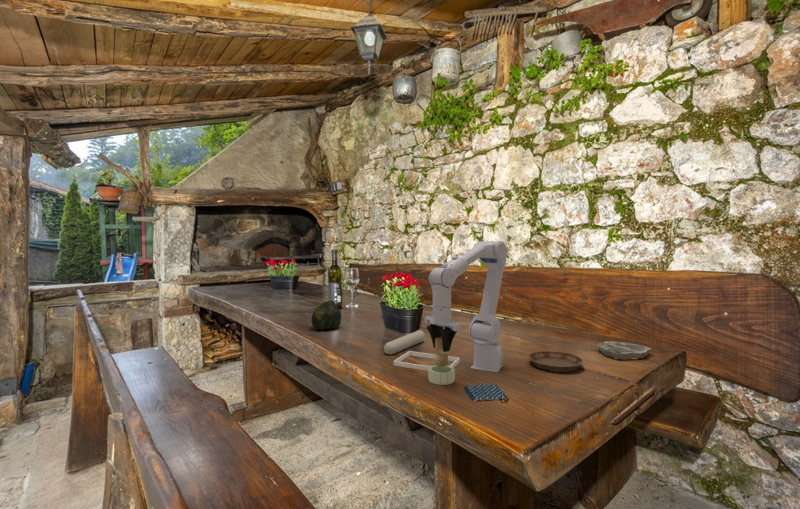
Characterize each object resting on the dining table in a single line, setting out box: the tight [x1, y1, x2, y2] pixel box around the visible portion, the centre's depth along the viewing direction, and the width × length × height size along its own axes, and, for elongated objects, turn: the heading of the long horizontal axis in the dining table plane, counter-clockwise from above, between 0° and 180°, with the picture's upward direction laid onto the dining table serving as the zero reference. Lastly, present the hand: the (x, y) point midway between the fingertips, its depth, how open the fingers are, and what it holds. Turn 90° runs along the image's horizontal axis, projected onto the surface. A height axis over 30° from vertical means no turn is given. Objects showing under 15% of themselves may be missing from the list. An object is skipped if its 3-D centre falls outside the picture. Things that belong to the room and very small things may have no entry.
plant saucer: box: [528, 350, 584, 373], centre depth 137 cm, size 18×18×3 cm
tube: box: [383, 329, 426, 356], centre depth 159 cm, size 5×5×25 cm
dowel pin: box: [434, 337, 449, 366], centre depth 121 cm, size 4×4×8 cm
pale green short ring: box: [427, 364, 456, 386], centre depth 121 cm, size 8×8×4 cm
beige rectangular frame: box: [392, 350, 461, 372], centre depth 137 cm, size 20×14×2 cm
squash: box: [311, 300, 342, 331], centre depth 193 cm, size 14×15×15 cm
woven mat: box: [463, 384, 510, 404], centre depth 110 cm, size 10×11×2 cm
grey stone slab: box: [595, 341, 652, 360], centre depth 151 cm, size 20×17×3 cm
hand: (441, 349), depth 121 cm, fingers closed on dowel pin, 4 cm apart
